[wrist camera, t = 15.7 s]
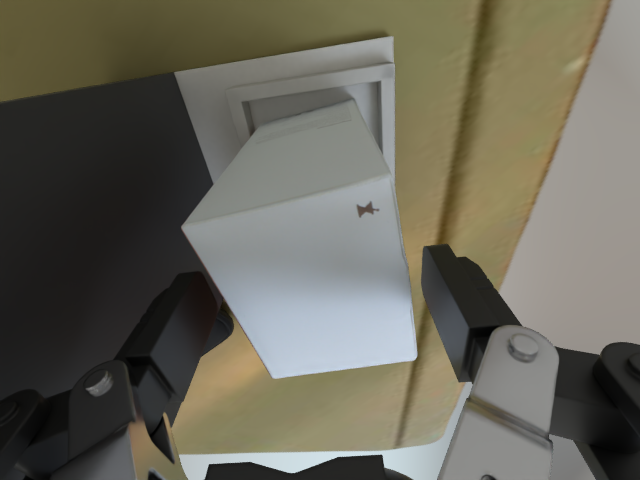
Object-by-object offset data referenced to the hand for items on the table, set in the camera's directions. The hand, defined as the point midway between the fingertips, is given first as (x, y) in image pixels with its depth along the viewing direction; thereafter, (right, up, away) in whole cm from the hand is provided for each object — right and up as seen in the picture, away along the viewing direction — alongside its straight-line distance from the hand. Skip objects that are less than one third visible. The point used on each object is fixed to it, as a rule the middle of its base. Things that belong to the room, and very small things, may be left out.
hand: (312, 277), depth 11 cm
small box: (0, +6, +10) cm, 12 cm away
